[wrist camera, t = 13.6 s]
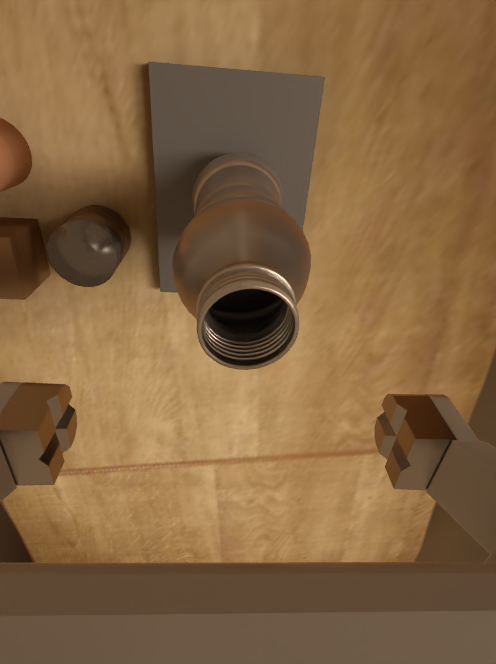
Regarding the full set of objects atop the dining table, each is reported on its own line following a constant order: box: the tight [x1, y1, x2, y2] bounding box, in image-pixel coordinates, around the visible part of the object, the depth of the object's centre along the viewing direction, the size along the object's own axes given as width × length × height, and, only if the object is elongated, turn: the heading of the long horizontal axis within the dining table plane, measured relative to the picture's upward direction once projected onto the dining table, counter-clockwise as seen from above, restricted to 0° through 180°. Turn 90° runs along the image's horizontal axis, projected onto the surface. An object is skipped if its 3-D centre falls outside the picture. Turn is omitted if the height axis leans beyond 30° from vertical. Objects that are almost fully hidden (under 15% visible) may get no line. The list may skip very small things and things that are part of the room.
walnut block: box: [0, 217, 50, 300], centre depth 31 cm, size 5×5×5 cm
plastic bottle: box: [172, 152, 311, 370], centre depth 22 cm, size 6×7×20 cm
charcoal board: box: [149, 62, 325, 292], centre depth 31 cm, size 17×12×1 cm
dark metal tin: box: [47, 205, 131, 287], centre depth 31 cm, size 5×5×5 cm
